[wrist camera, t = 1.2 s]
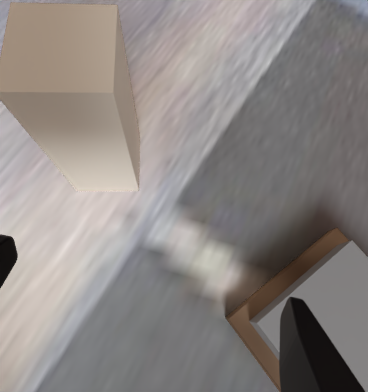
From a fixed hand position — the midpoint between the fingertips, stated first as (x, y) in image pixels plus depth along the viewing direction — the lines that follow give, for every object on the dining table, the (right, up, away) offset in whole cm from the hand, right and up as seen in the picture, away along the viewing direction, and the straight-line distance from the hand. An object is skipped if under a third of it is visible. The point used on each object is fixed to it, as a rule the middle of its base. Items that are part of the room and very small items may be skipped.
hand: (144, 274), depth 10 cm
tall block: (-5, +5, +17) cm, 18 cm away
